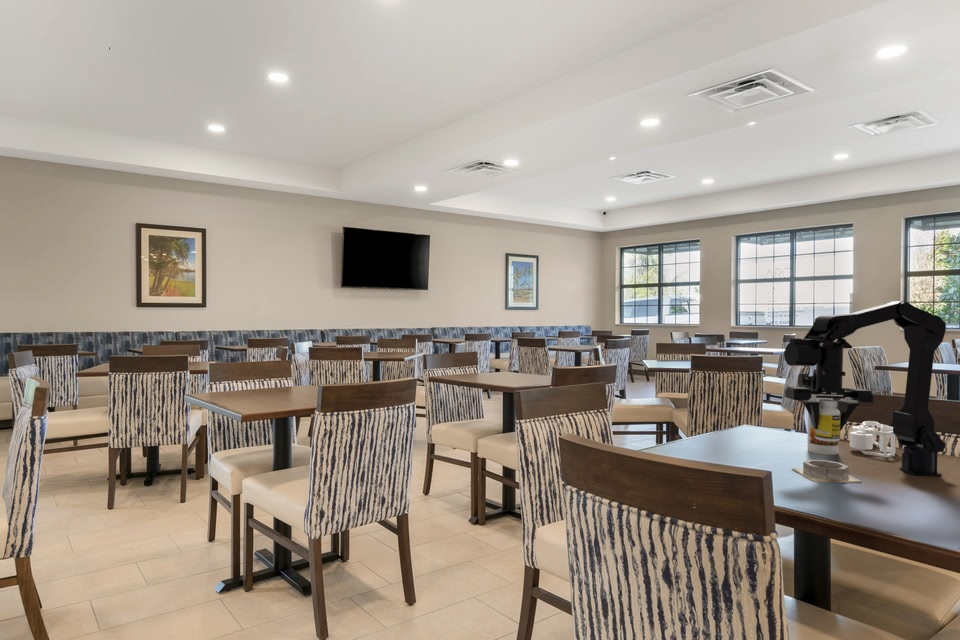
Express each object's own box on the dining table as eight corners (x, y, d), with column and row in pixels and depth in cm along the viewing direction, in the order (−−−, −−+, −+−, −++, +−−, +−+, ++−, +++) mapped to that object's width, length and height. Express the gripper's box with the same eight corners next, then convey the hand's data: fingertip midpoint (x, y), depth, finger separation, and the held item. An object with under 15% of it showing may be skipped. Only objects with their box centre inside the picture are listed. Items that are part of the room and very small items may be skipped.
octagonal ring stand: (836, 472, 153) (837, 459, 153) (861, 484, 142) (861, 470, 142) (792, 471, 153) (792, 458, 153) (813, 483, 142) (813, 469, 142)
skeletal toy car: (853, 442, 190) (853, 419, 190) (895, 447, 184) (896, 423, 184) (848, 454, 174) (848, 429, 174) (894, 460, 167) (895, 433, 167)
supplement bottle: (834, 443, 146) (834, 402, 146) (811, 439, 150) (811, 400, 150) (844, 440, 149) (844, 400, 149) (820, 436, 153) (820, 398, 153)
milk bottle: (801, 450, 177) (802, 382, 177) (821, 449, 179) (822, 382, 179) (823, 456, 170) (824, 385, 170) (844, 455, 172) (845, 385, 172)
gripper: (851, 364, 156) (849, 424, 157) (776, 362, 158) (775, 422, 158) (876, 368, 145) (874, 433, 145) (795, 366, 147) (793, 430, 147)
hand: (827, 429), depth 149 cm, fingers closed on supplement bottle, 5 cm apart
